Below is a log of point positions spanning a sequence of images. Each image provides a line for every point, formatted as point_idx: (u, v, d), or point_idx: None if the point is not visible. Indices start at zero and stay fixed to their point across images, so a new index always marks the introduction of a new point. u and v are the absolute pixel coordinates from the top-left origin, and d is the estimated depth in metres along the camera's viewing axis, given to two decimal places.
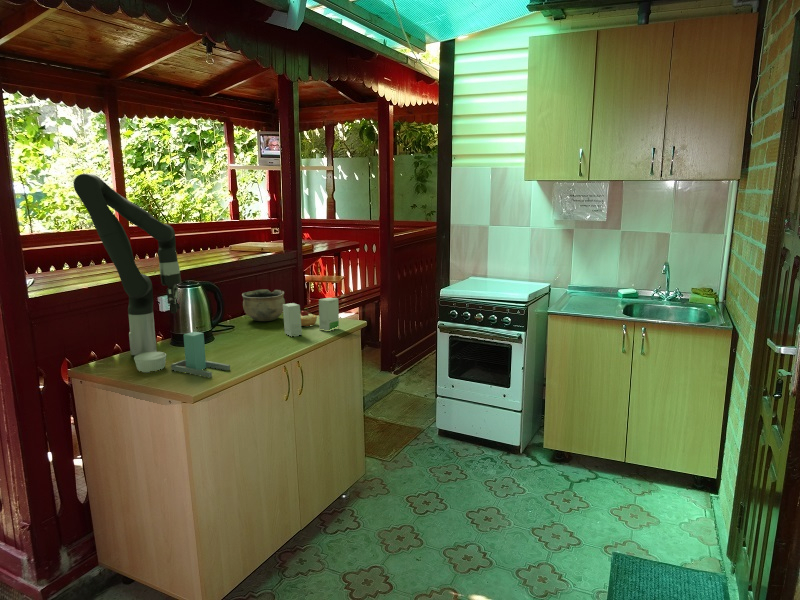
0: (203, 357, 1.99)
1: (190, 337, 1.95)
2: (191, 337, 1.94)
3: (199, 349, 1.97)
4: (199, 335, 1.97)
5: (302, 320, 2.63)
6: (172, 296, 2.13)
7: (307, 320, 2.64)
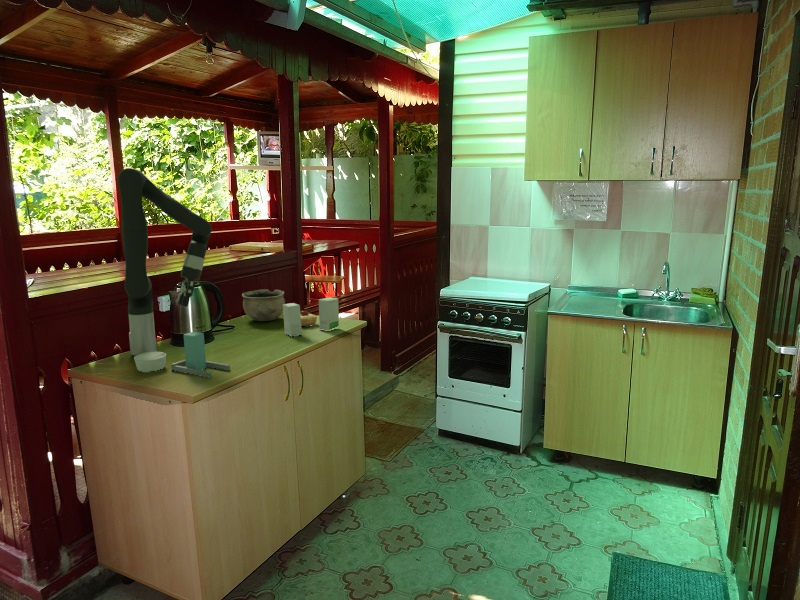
0: (203, 357, 1.99)
1: (190, 337, 1.95)
2: (191, 337, 1.94)
3: (199, 349, 1.97)
4: (199, 335, 1.97)
5: (302, 320, 2.63)
6: (192, 289, 2.11)
7: (307, 320, 2.64)
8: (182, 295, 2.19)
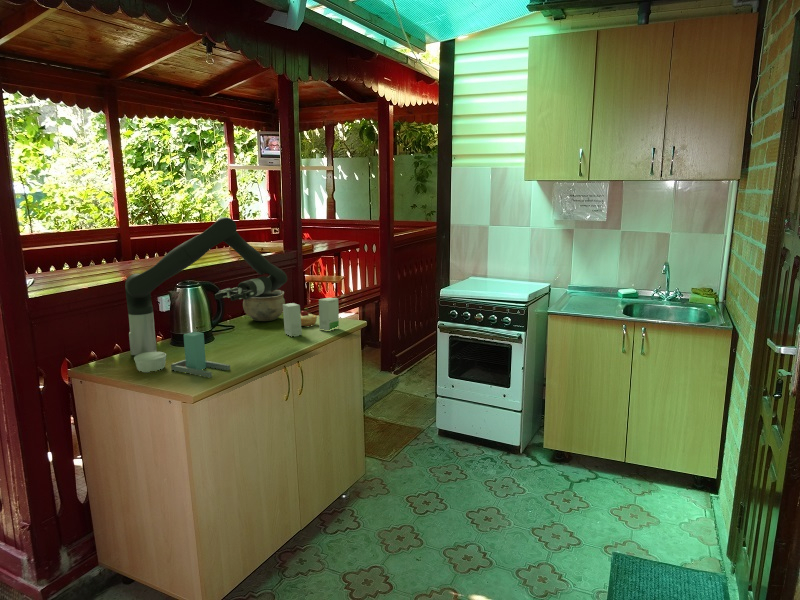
0: (203, 357, 1.99)
1: (190, 337, 1.95)
2: (191, 337, 1.94)
3: (199, 349, 1.97)
4: (199, 335, 1.97)
5: (302, 320, 2.63)
6: (249, 296, 2.14)
7: (307, 320, 2.64)
8: (222, 293, 2.16)
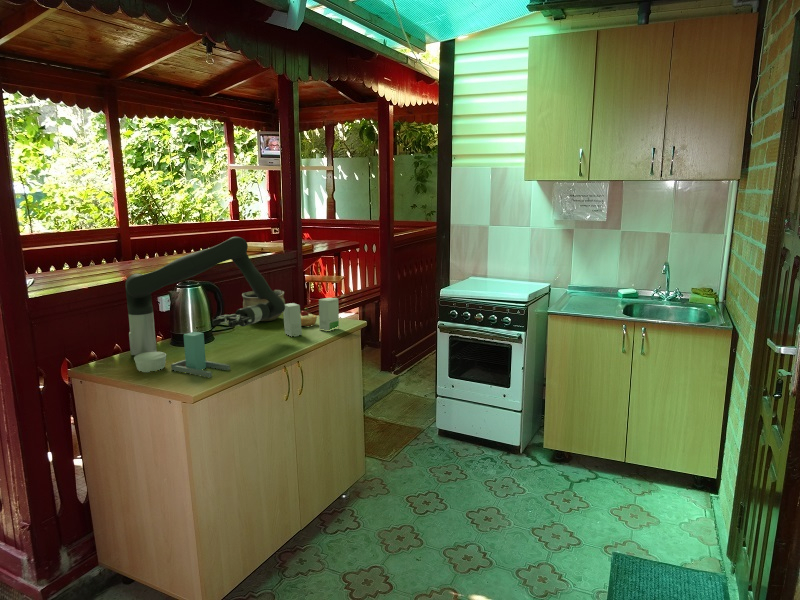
0: (203, 357, 1.99)
1: (190, 337, 1.95)
2: (191, 337, 1.94)
3: (199, 349, 1.97)
4: (199, 335, 1.97)
5: (302, 320, 2.63)
6: (247, 323, 2.14)
7: (307, 320, 2.64)
8: (220, 320, 2.15)
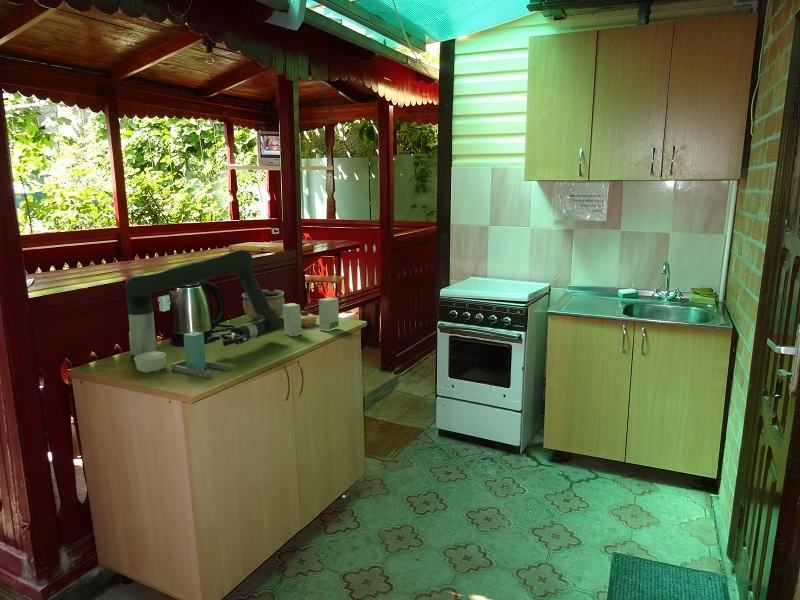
0: (203, 357, 1.99)
1: (190, 337, 1.95)
2: (191, 337, 1.94)
3: (198, 349, 1.97)
4: (199, 335, 1.97)
5: (302, 320, 2.63)
6: (242, 341, 2.11)
7: (307, 320, 2.64)
8: (215, 338, 2.13)
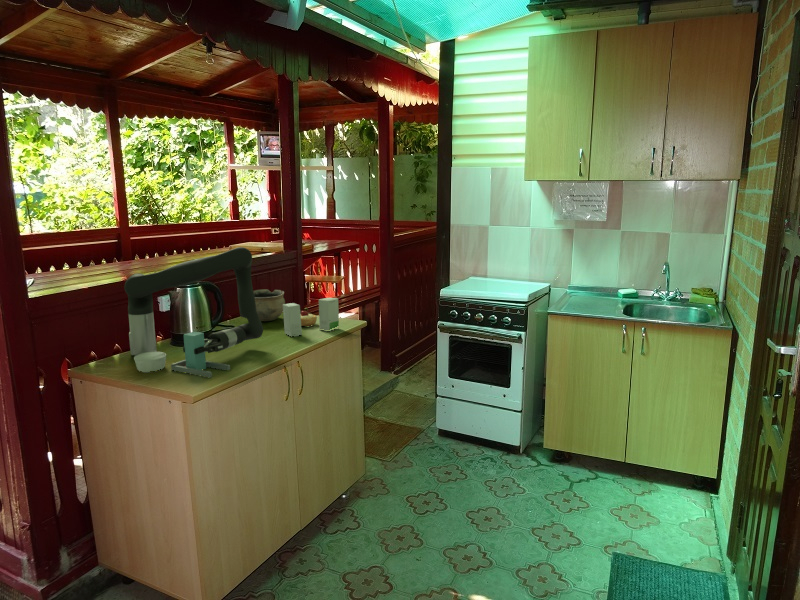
0: (203, 357, 1.99)
1: (190, 337, 1.95)
2: (191, 337, 1.94)
3: None
4: (199, 335, 1.97)
5: (302, 320, 2.63)
6: (216, 350, 2.00)
7: (307, 320, 2.64)
8: None
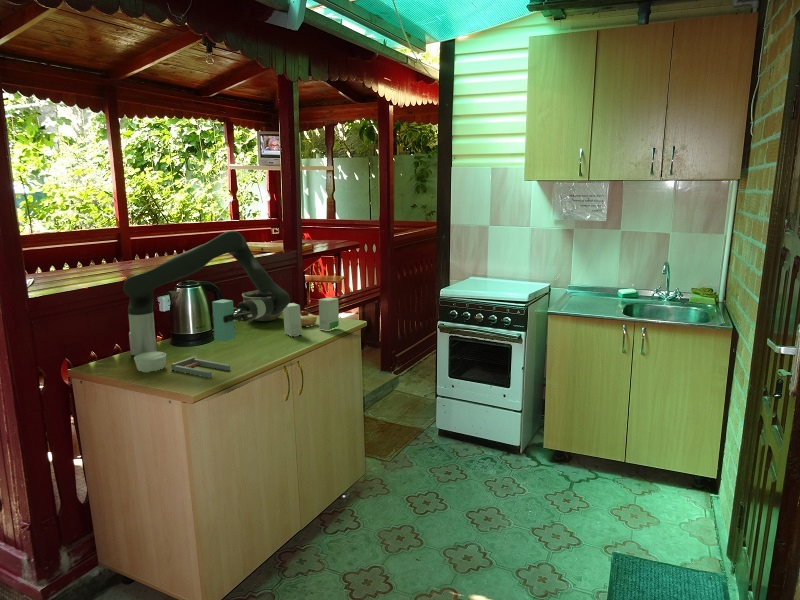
0: (232, 326, 1.90)
1: (219, 304, 1.86)
2: (221, 305, 1.85)
3: None
4: (228, 302, 1.87)
5: (302, 320, 2.63)
6: (245, 318, 1.91)
7: (307, 320, 2.64)
8: None
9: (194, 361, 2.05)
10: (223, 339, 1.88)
